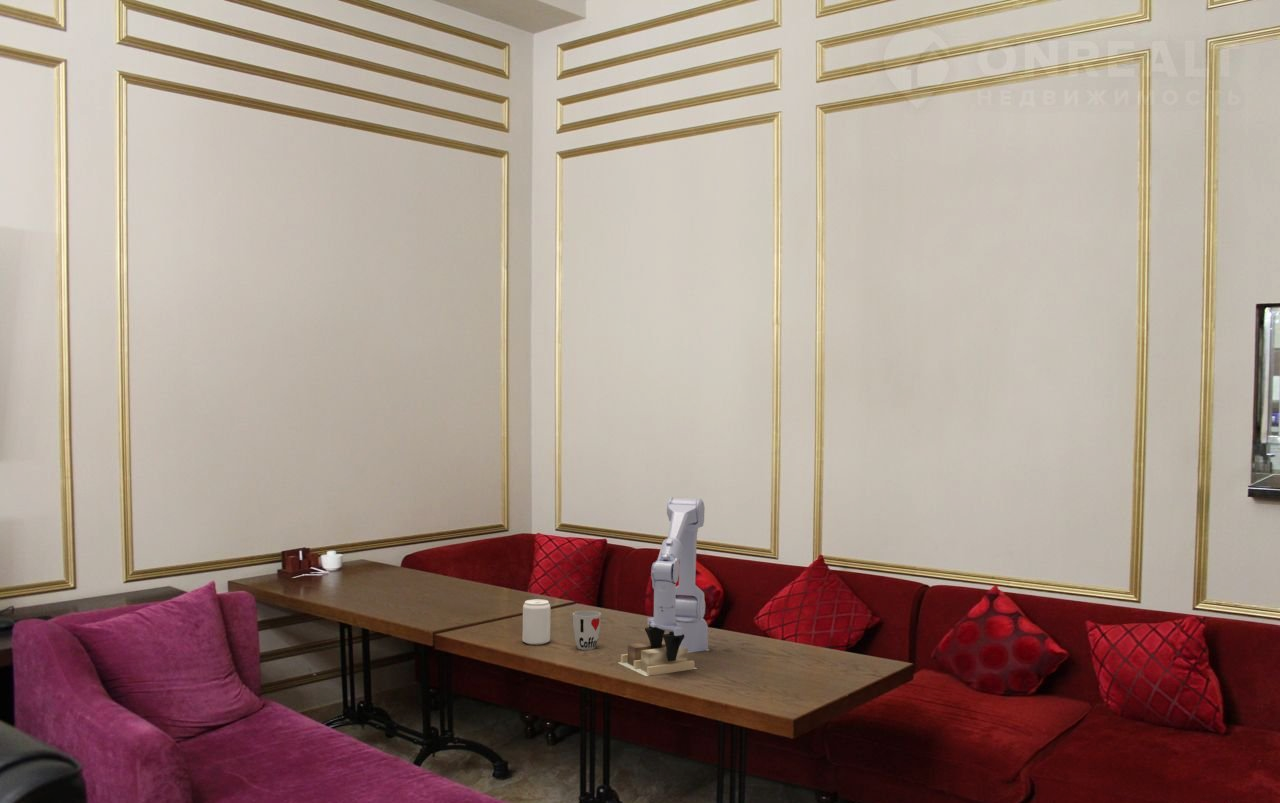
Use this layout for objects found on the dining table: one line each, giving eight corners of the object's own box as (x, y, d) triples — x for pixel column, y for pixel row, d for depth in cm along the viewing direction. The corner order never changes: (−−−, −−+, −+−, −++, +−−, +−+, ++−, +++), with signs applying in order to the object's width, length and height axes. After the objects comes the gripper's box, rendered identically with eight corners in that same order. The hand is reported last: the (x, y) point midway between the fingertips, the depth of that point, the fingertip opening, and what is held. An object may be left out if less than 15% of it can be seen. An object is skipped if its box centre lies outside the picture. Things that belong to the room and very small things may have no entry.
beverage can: (517, 643, 287) (517, 602, 287) (532, 637, 294) (533, 598, 294) (540, 646, 283) (540, 605, 284) (555, 641, 291) (555, 600, 291)
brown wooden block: (665, 658, 270) (665, 640, 270) (673, 661, 266) (673, 643, 266) (627, 663, 264) (627, 644, 264) (634, 666, 260) (635, 648, 260)
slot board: (667, 657, 272) (667, 648, 272) (697, 670, 259) (697, 660, 259) (617, 664, 264) (617, 655, 264) (645, 678, 251) (645, 668, 251)
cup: (575, 652, 278) (575, 616, 278) (569, 645, 285) (570, 611, 286) (603, 650, 280) (603, 615, 280) (596, 644, 288) (597, 609, 288)
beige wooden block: (679, 664, 264) (679, 645, 264) (687, 667, 260) (687, 648, 260) (640, 669, 258) (641, 650, 258) (648, 673, 254) (648, 653, 254)
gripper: (637, 602, 263) (637, 653, 263) (666, 612, 251) (665, 665, 251) (660, 600, 267) (659, 650, 267) (689, 610, 254) (688, 662, 254)
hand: (664, 657), depth 259 cm, fingers open, 7 cm apart
